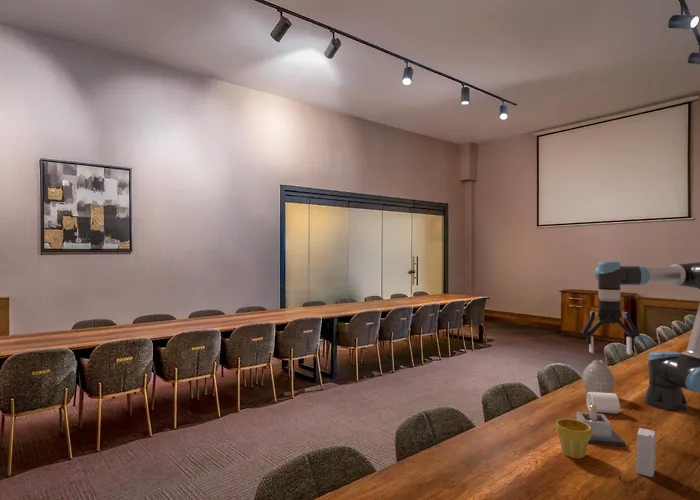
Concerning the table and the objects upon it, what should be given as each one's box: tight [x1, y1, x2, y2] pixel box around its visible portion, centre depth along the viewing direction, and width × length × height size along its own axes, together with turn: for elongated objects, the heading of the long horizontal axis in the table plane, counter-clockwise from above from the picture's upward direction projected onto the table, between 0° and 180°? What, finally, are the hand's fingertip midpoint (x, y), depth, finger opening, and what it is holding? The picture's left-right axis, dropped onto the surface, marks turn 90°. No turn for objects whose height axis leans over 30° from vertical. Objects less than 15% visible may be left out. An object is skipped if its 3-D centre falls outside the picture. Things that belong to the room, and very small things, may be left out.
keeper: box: [588, 405, 626, 447], centre depth 152 cm, size 16×12×11 cm
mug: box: [586, 392, 621, 414], centre depth 178 cm, size 12×10×8 cm
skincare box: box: [635, 427, 656, 478], centre depth 127 cm, size 6×4×12 cm
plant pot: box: [555, 418, 591, 459], centre depth 139 cm, size 10×10×10 cm
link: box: [576, 411, 612, 439], centre depth 152 cm, size 9×9×6 cm
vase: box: [582, 359, 616, 393], centre depth 194 cm, size 13×13×17 cm
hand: (610, 353), depth 167 cm, fingers open, 13 cm apart
